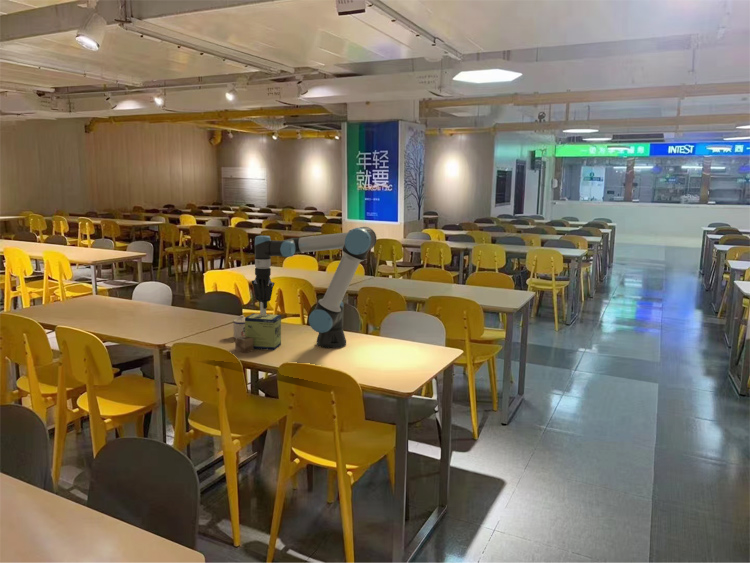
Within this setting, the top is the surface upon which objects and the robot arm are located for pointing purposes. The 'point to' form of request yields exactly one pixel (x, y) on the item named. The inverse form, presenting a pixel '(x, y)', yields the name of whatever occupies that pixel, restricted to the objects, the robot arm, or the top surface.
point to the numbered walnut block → (244, 344)
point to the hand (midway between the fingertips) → (263, 314)
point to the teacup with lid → (239, 327)
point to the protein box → (264, 330)
